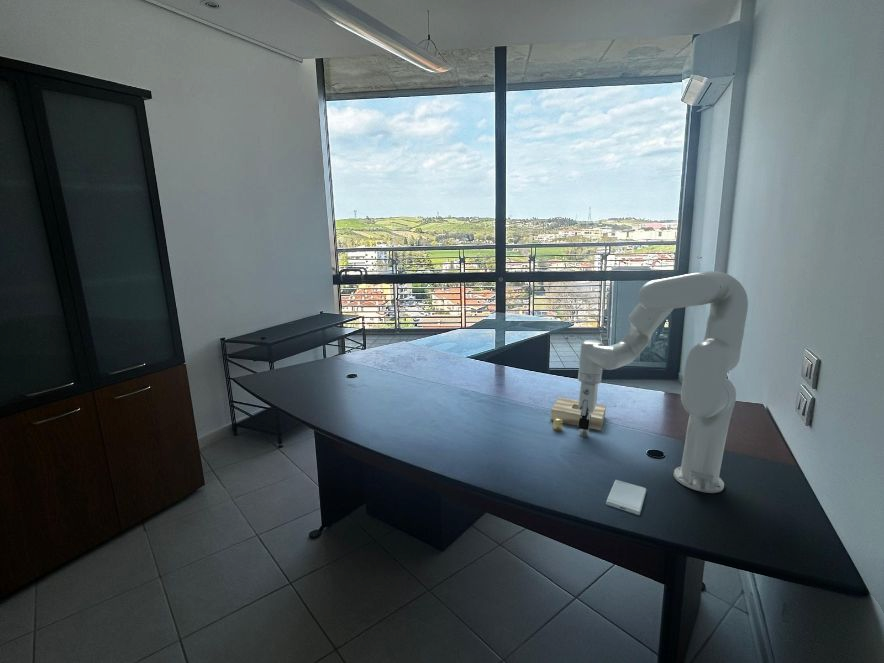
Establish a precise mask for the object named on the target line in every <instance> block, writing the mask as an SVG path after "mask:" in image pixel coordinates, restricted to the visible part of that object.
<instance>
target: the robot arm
mask: <svg viewBox="0 0 884 663" xmlns="http://www.w3.org/2000/svg"><path fill="white" fill-rule="evenodd" d="M637 296H638V298H637V299H638V302H639V303H638V304H637V305H636V306H635V307H634V309H633V310H632V311H631V313H630V314H629V315H628V319H627V320H628V322H629V324H630V327H629V329H628V331H627V332H626V334H625V335H624V336H623V337H622V338H621V339H620V341H618V342H617V343H615V344H611V345H605V344H604V342H602V341H600V340H595V339H587V340H583V342H582V343H581V344H580V352H579V353H580V356H579V362H578V363H579V364H578V374H577V381H579V382H580V387H579V388H580V389H579V398H578V401H579V410H581V414H580V419H579V426H578V430H579V429H584V430H588V429H589V430H590V428H589V426H590V424H589V420H591V415H590V419H589V412H591V413H592V412H594V410H595V407H596V404H597V399H598V389H599V388H598V387H599V384H601V383H602V376H603V369H604V370H607V371H608V370H609V371H612V370H616V369H619V368H621V367H625V366H627V365H630V364H631V363H632V362H633V361H634V360H636V359H637V358H638V357H639V355H640V354H641V353H642V352H643V351H644V350H645V348H646V347H647V346H648V344H649V343H650V341H651V339H652V337H653V335H654V332H655V331H656V330H657V329H658V328H659V326H660V325H661V324H662V323H663V322H664V321H665V320H666V318H667V317H668V316H669V315H670V314H671V313H672V312H673V310H674V309H681V308H687V307H697V306H703V305H709V304H710V307H711V309H710V312H709V315H708V318H707V322H706V327H705V328H706V329H705V333H704V337H703V341H702V342H699V343H697V344H696V345H694V346H693V347H692V348H691V349H690V351H689V353H688V355H687V357H686V361H685V367H684V372H683V379H682V383H681V384H682V385H681V390H680V391H681V392H680V401H681V405H682V406H683V408H684V410H685V411H686V412H687V413H688V414H689V417H688V422H687V427H686V434H685V439H684V440H685V441H684V446H683V447H684V448H683V451H682V452H683V453H682V459H681V464H680V466H678V467H676V468H675V469H674V470H673V478H674V479H675V480H676V481H677V482H679V484H681V485H682V486H684V487H687V488H689V489H691V490H694V491H696V492H702V493H706V494H707V493H708V494H716V493H720V492H723V490H724V488H725V483H724V480H723V479H722V478H721V477H720V473H721V470H722V469H721V468H722V462H723V456H724V451H725V446H726V440H727V436H728V430H729V428H730V427H729V426H730V422H731V417H732V414H733V410H734V409H735V408H734V407H735V404H736V401H737V390H736V387H735V384H734V383H733V382H732V381H731V380H730V379H728V378H727V373H729V372H730V371H732V370H734V369H735V368H736V367H737V365H738V364H739V362H740V357H741V352H742V351H741V350H742V345H743V341H744V340H743V339H744V335H745V328H746V321H747V317H748V308H749V299H748V294H747V290H746V289H745V287H744V286H743V284H741V282H740V281H739V280H737V279H736V278H735V277H734V276H733V275H730V274H729V273H725V272H722V271H717V270H710V271H709V270H708V271H701V272H700V271H699V272H693V273H686V274H682V275H676V276H671V277H667V278H661V279H660V278H658V279H652V280H650V281H649V280H648V281H647V282H646V283H644V284H643V285H642V286H641V288H640V290H639V291H638V295H637ZM587 409H588V410H587ZM586 412H588V413H586Z"/></svg>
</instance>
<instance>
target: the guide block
mask: <svg viewBox="0 0 884 663" xmlns="http://www.w3.org/2000/svg"><path fill="white" fill-rule="evenodd" d="M606 409H607V406H606V405H604V404H598V403H596V407H595V410H594V412H592V413H591V420H590V426H589V429H592V430H596V431H597V430H598V431H602V428H603V424H604V421H605V418H606ZM580 414H581V410H579V400H576V399H570V398H565V397H559V396H558V398H557V400H556V401H555V402H554V405H553V406H552V407H551V409H550V421H553V422H554V418H556V417H558V418H562V419H563V424H566V425H573V426H578V427H579V419H580Z"/></svg>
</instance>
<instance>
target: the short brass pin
mask: <svg viewBox="0 0 884 663" xmlns="http://www.w3.org/2000/svg"><path fill="white" fill-rule="evenodd" d="M552 423H553V426H552V430H553V431H554V432H563V426H564V425H563V424H564V423H563V419H562V418H558V417H556V418H554V421H553V422H552Z"/></svg>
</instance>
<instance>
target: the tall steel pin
mask: <svg viewBox="0 0 884 663" xmlns="http://www.w3.org/2000/svg"><path fill="white" fill-rule="evenodd" d="M587 410H588V409H587ZM586 413H588V412H586ZM590 415H591V412H589V419H590ZM589 424H590V420H589ZM589 431H590V428H589V429H588V430H584V429H579V428H578V435H579V436H580V437H582V438H587V437H589V433H590V432H589Z"/></svg>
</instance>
